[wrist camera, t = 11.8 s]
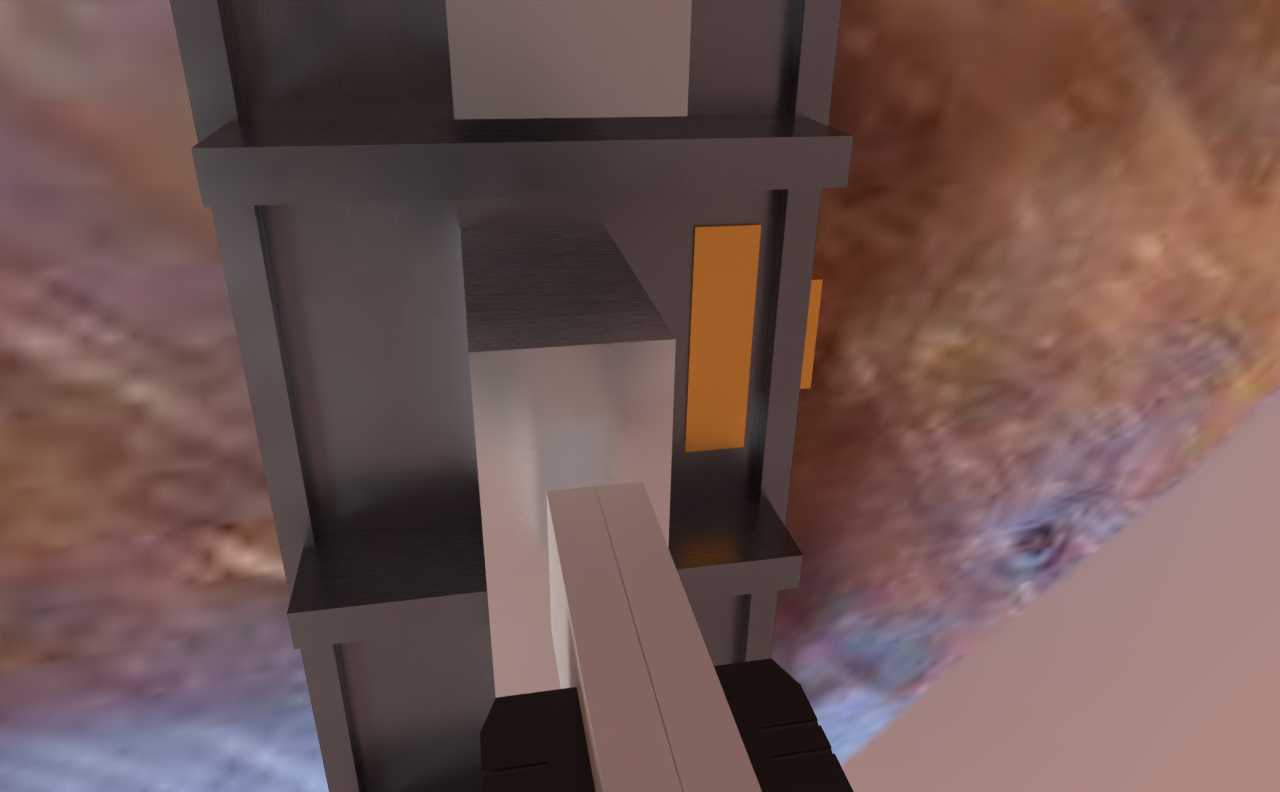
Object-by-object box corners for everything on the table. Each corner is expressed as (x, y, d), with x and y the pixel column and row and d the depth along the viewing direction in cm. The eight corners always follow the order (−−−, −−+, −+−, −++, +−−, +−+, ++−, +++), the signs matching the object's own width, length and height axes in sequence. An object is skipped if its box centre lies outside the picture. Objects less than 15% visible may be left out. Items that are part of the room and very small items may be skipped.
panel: (460, 229, 19) (468, 352, 13) (603, 223, 20) (675, 339, 14) (481, 497, 22) (496, 699, 16) (604, 485, 23) (663, 676, 17)
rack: (93, -538, 14) (-282, -1082, 7) (880, -447, 16) (1222, -771, 9) (347, 803, 28) (313, 1099, 20) (757, 739, 30) (856, 983, 23)
